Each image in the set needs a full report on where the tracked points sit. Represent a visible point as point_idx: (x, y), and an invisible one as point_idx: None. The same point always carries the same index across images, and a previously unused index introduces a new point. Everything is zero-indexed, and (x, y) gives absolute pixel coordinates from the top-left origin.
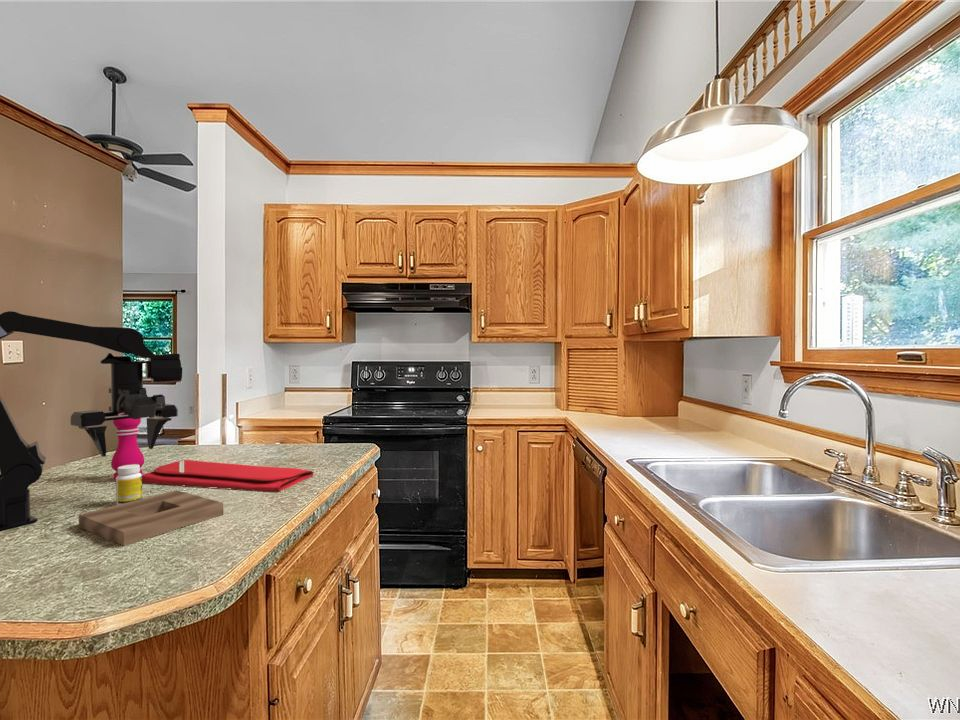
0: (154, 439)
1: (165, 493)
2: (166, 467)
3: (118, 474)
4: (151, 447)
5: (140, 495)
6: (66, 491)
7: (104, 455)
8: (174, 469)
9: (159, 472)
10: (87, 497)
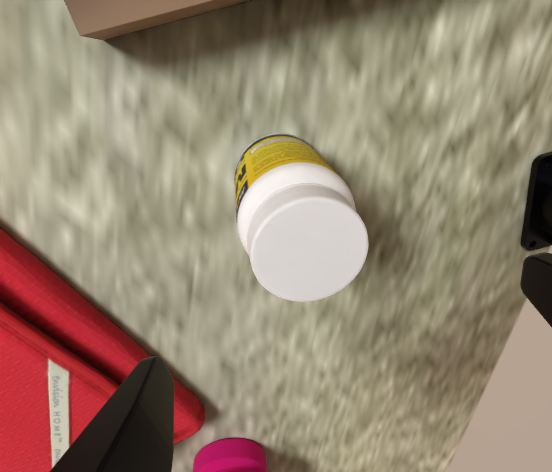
0: (90, 443)
1: (142, 8)
2: None
3: (257, 467)
4: (150, 363)
5: (245, 156)
6: (372, 419)
7: (547, 253)
8: (88, 415)
9: None
10: (354, 338)
